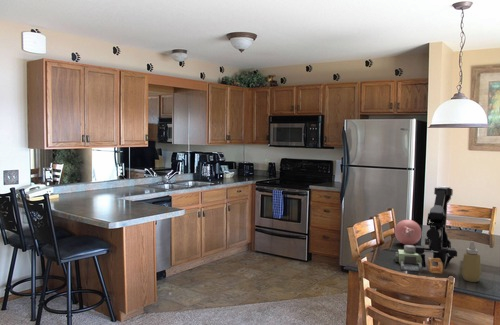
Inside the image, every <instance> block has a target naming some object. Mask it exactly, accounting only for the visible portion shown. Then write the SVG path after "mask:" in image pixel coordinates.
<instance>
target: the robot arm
mask: <svg viewBox="0 0 500 325" xmlns="http://www.w3.org/2000/svg"><path fill="white" fill-rule="evenodd" d="M433 190H434V192H433V193H434V194H433V195H435V198H434V204H433V206H432V207H431V208H429V209H430V210H429V212H428V213H427V219H426V227H427V226H429V229H428V230H427V232H426V238H424V245H416V244H415V245H414V246H415V253H418V255H420V256H421V258H422V260H423V264H424V265H423V264H422V265H423V267H424V268H426V257H425V256H426V255H425V253H432V258H440V259H441V261H442V263H444V270H446V269H447V267H448V266H449V264H450V262H451V260H452V259H454V258H456V257H458V251H457V249H456V248H454V247H452V242H451V240H450V238H449V234H448V232H447V220H448V218H447V216H448V203H449V202H450V201H451V199H452V196H453V193H454V190H453V188H451V186H444V185H443V186H442V185H438V186H437V187H434V189H433ZM424 246H427V247H424Z"/></svg>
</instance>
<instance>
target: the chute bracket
mask: <svg viewBox="0 0 500 325" xmlns="http://www.w3.org/2000/svg"><path fill="white" fill-rule="evenodd" d="M399 265H400V270H401V271H409V272H418V273H419V272H421V273H423V264H422V265H421V262H420V261H418V264H411V263H403V260H400V263H399Z"/></svg>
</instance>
